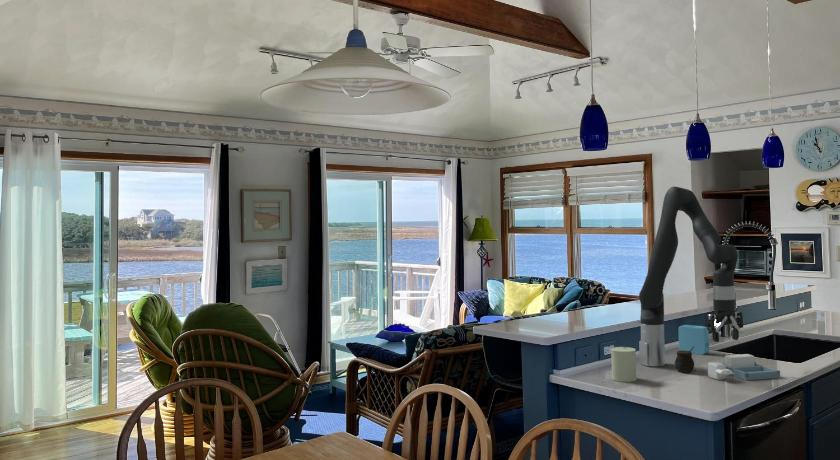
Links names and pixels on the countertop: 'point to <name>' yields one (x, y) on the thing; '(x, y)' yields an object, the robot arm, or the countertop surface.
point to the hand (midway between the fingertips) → (725, 340)
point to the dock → (749, 368)
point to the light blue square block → (694, 339)
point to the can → (623, 364)
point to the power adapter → (718, 371)
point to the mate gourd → (684, 361)
